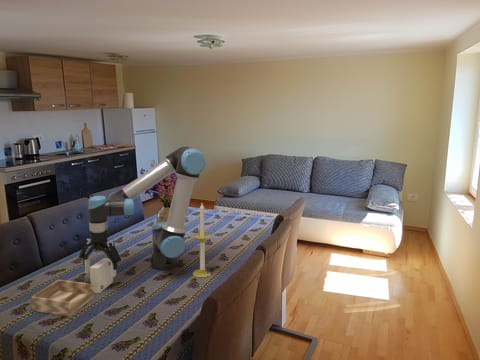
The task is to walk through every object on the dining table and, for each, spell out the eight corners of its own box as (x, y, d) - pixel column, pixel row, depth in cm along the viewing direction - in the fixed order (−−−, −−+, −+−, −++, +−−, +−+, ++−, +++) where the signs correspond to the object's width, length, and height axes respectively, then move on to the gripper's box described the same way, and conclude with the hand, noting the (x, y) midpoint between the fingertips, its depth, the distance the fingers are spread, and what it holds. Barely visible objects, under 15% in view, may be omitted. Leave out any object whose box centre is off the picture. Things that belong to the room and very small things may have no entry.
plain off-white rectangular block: (113, 282, 175) (112, 258, 173) (99, 293, 165) (98, 268, 163) (105, 281, 176) (104, 257, 174) (91, 292, 166) (89, 267, 163)
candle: (189, 276, 183) (187, 203, 175) (198, 268, 192) (197, 198, 185) (207, 279, 179) (206, 205, 172) (215, 271, 189) (215, 200, 181)
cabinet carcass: (94, 296, 162) (93, 284, 160) (70, 316, 146) (68, 302, 145) (59, 291, 166) (58, 279, 164) (32, 310, 150) (30, 297, 149)
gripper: (127, 230, 166) (129, 274, 170) (79, 225, 172) (82, 267, 176) (118, 235, 159) (120, 281, 163) (69, 230, 164) (71, 274, 168)
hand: (100, 274), depth 169 cm, fingers open, 13 cm apart
